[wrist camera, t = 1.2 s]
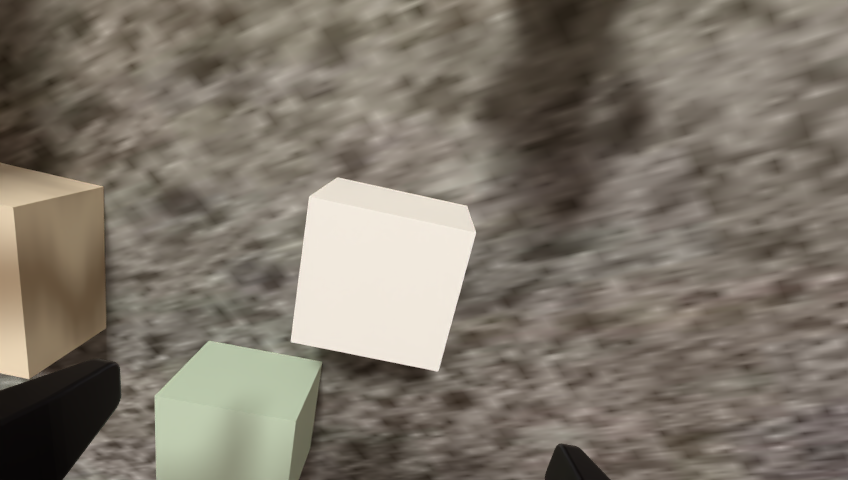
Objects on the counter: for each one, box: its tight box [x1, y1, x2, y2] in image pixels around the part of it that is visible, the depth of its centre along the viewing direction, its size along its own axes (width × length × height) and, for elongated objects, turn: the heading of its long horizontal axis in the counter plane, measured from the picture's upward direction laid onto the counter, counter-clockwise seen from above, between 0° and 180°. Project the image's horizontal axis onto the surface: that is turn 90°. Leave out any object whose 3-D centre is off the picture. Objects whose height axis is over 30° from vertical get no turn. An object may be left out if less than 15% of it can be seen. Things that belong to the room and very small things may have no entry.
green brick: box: [155, 341, 322, 480], centre depth 18 cm, size 6×6×4 cm
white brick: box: [291, 177, 476, 371], centre depth 15 cm, size 6×6×4 cm
